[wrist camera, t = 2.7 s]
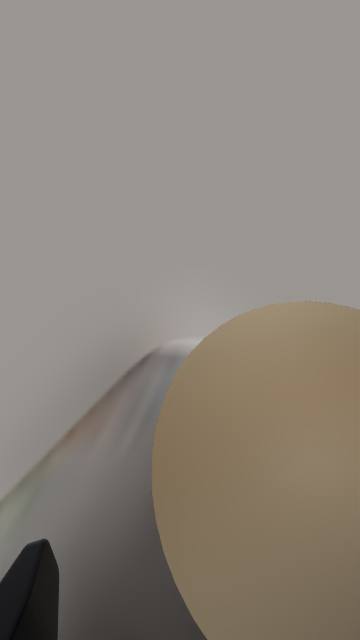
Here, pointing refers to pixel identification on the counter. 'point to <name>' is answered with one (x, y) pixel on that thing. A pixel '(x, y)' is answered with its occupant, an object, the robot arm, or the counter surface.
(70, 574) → the counter surface
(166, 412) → the spool
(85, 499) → the counter surface
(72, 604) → the counter surface
